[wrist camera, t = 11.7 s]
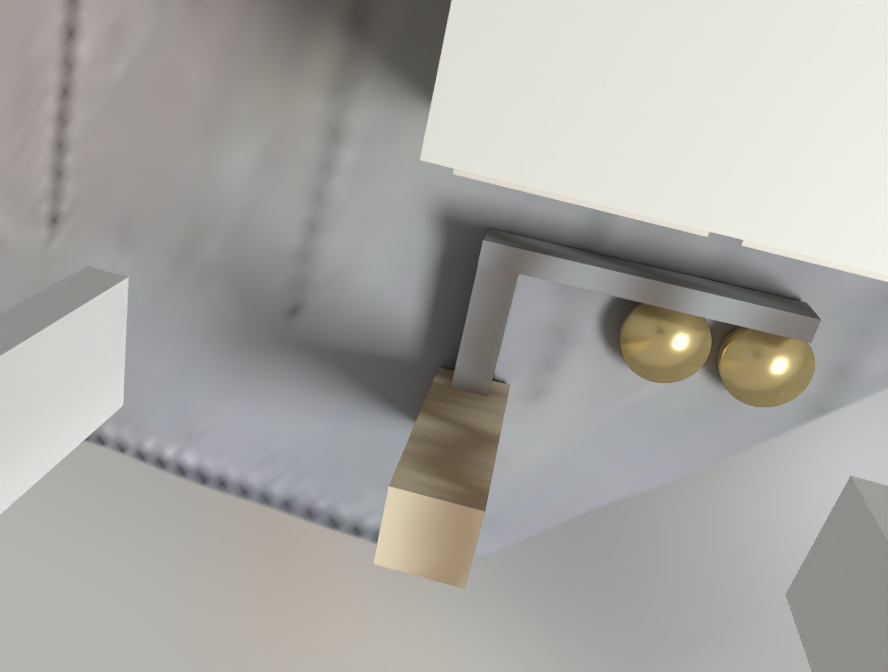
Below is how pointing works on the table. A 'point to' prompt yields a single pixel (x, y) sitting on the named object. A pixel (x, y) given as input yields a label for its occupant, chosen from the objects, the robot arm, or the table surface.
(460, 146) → the cabinet
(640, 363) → the golden knob
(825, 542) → the robot arm
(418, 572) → the hook
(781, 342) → the gold domed disc
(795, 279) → the table surface
